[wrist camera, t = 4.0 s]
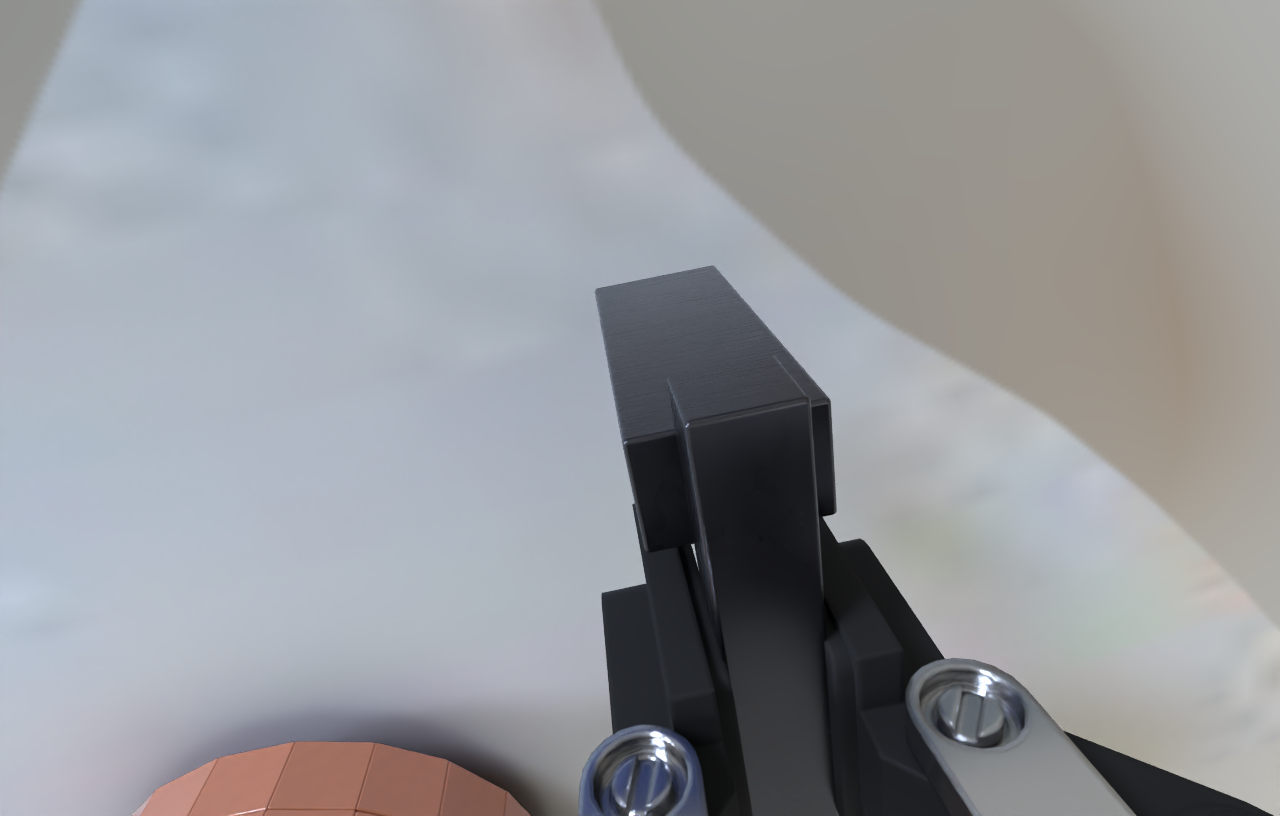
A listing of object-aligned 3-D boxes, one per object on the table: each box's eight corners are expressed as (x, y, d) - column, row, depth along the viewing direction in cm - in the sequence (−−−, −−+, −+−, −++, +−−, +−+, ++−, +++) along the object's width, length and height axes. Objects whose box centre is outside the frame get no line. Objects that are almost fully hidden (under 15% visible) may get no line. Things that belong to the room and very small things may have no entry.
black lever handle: (530, 264, 13) (499, 462, 6) (765, 217, 13) (992, 361, 6) (684, 893, 22) (741, 1254, 15) (823, 862, 22) (942, 1207, 15)
